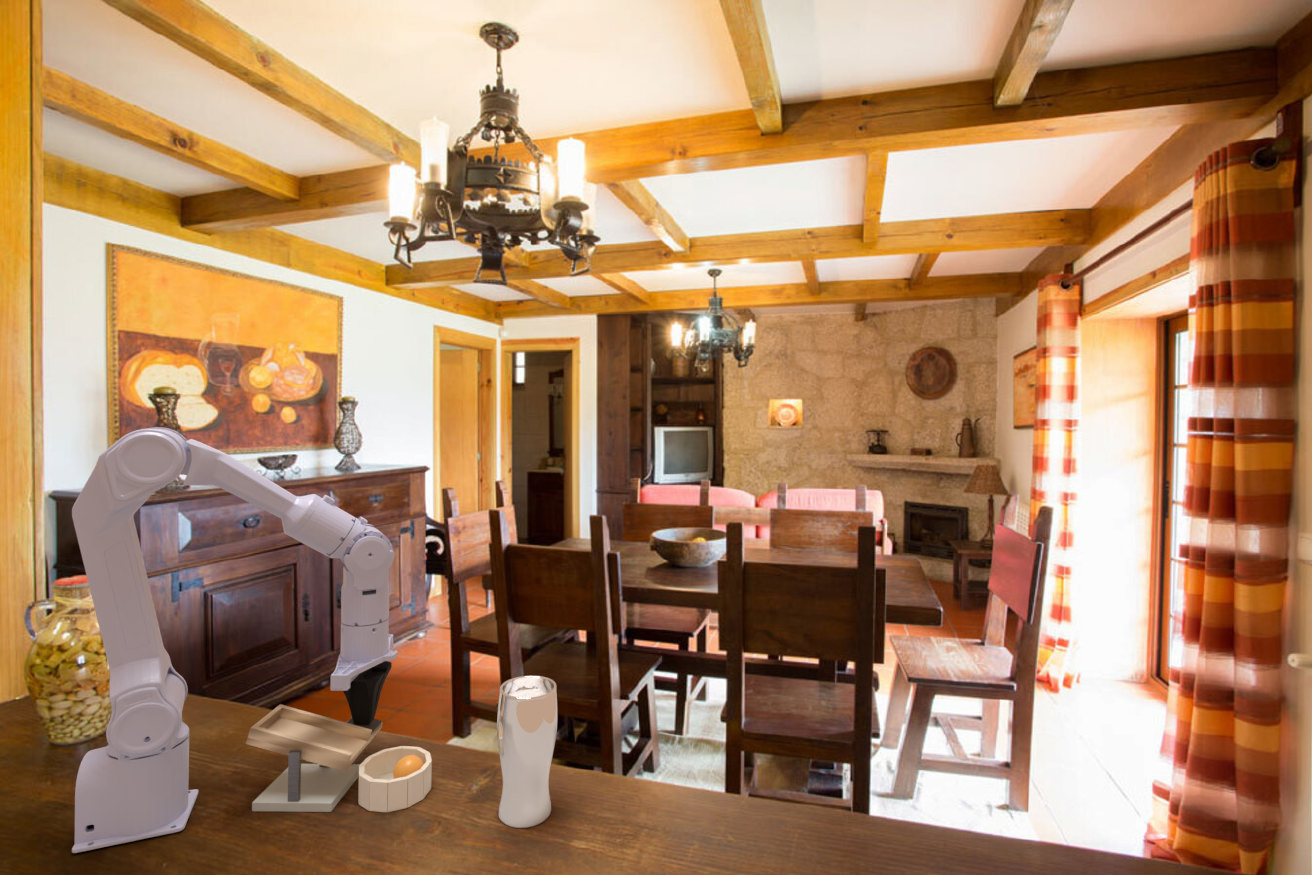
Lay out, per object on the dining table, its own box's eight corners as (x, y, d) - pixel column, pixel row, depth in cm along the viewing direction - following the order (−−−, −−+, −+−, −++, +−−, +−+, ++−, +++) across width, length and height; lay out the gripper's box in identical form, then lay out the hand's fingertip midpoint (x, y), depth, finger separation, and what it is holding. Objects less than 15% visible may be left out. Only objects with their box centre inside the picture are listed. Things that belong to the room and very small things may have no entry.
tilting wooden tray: (245, 743, 74) (250, 727, 74) (294, 703, 84) (298, 689, 84) (345, 771, 74) (350, 755, 74) (381, 727, 85) (385, 713, 85)
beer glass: (548, 832, 71) (552, 700, 70) (487, 829, 71) (490, 697, 71) (559, 795, 78) (562, 675, 77) (503, 793, 78) (506, 673, 78)
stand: (251, 811, 73) (253, 753, 73) (291, 771, 81) (292, 719, 81) (330, 811, 73) (332, 754, 73) (362, 771, 82) (363, 720, 82)
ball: (405, 765, 75) (410, 795, 75) (428, 750, 79) (432, 778, 79) (384, 763, 77) (389, 792, 77) (407, 748, 80) (412, 776, 80)
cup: (358, 818, 72) (359, 788, 72) (357, 781, 80) (358, 753, 79) (434, 801, 76) (434, 773, 76) (426, 767, 83) (427, 741, 83)
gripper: (373, 638, 75) (371, 751, 76) (415, 603, 90) (414, 698, 90) (313, 638, 75) (311, 750, 75) (365, 603, 90) (364, 697, 90)
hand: (363, 722), depth 83 cm, fingers closed, pressing on tilting wooden tray
